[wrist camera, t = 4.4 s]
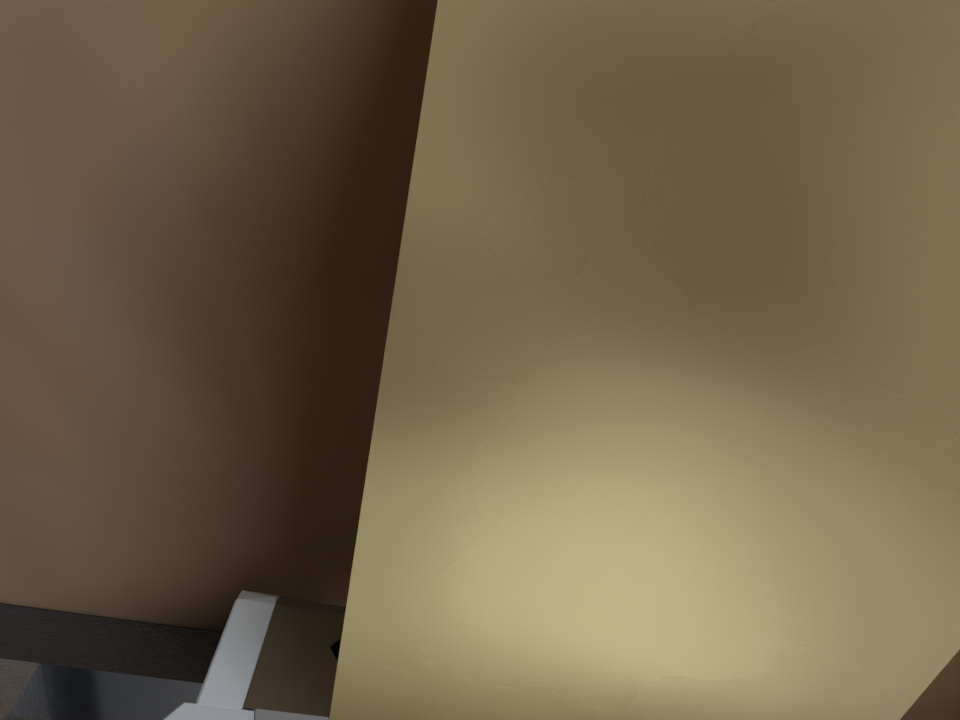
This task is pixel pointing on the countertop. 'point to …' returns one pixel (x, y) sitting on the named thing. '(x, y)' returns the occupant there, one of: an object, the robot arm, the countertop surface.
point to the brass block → (669, 369)
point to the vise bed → (97, 666)
